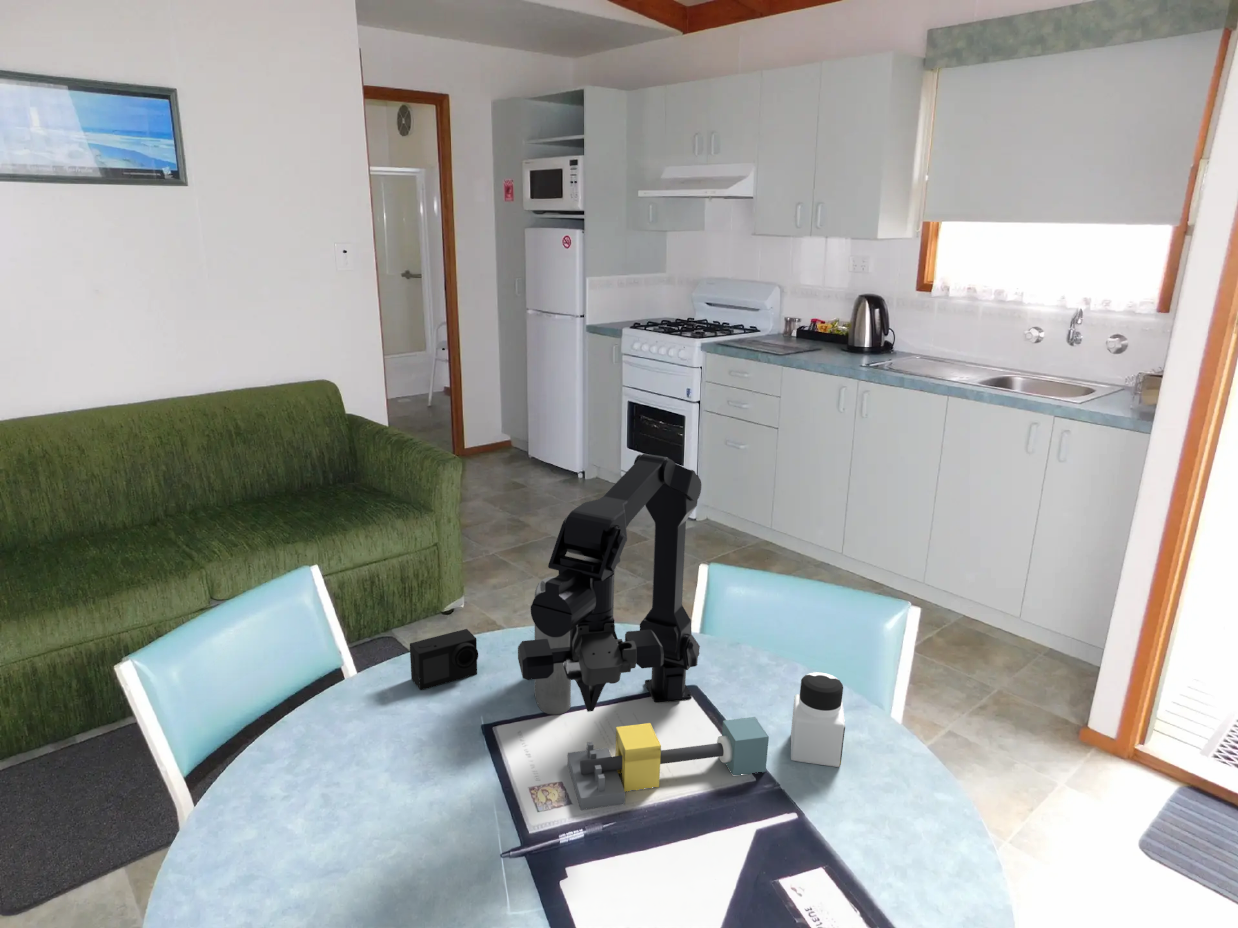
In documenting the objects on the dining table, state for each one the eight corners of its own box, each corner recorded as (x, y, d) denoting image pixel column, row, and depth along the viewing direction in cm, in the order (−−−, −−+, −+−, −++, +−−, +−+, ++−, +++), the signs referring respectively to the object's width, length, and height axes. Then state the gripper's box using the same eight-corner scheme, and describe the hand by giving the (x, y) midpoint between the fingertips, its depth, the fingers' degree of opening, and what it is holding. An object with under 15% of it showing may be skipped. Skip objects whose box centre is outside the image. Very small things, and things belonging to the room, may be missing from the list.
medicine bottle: (840, 768, 120) (849, 695, 116) (790, 761, 121) (797, 689, 118) (838, 739, 126) (846, 670, 123) (790, 733, 128) (797, 664, 124)
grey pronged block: (567, 764, 119) (567, 740, 118) (608, 759, 120) (608, 735, 119) (580, 810, 109) (581, 785, 108) (624, 804, 111) (625, 779, 110)
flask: (534, 667, 144) (534, 562, 139) (568, 667, 145) (569, 561, 139) (534, 716, 130) (534, 601, 125) (571, 715, 131) (572, 600, 125)
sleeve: (615, 767, 118) (616, 726, 116) (648, 763, 119) (650, 722, 117) (624, 791, 113) (625, 749, 111) (659, 787, 114) (661, 745, 112)
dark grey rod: (584, 797, 112) (585, 759, 110) (577, 774, 117) (578, 737, 115) (765, 772, 118) (768, 736, 116) (752, 751, 123) (754, 716, 121)
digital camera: (422, 694, 135) (420, 656, 133) (410, 679, 140) (408, 642, 138) (480, 677, 141) (479, 640, 139) (467, 663, 145) (466, 627, 143)
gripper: (528, 640, 97) (528, 754, 101) (679, 626, 101) (673, 736, 106) (516, 599, 108) (517, 704, 112) (654, 589, 112) (649, 690, 116)
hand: (589, 709), depth 111 cm, fingers closed
